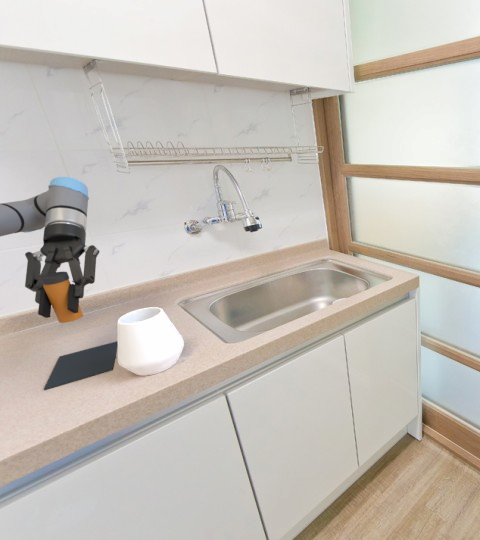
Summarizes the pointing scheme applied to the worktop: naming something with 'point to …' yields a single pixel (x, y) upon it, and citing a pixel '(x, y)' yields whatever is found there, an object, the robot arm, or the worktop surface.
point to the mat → (82, 365)
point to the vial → (59, 295)
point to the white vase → (148, 341)
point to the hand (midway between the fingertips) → (58, 313)
